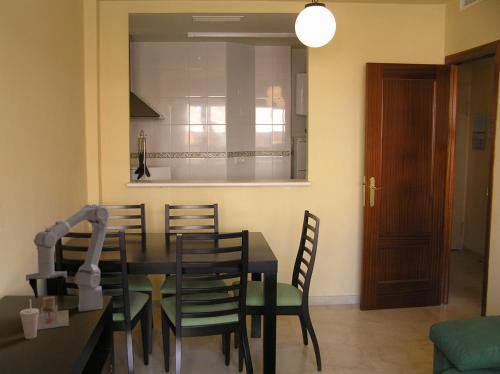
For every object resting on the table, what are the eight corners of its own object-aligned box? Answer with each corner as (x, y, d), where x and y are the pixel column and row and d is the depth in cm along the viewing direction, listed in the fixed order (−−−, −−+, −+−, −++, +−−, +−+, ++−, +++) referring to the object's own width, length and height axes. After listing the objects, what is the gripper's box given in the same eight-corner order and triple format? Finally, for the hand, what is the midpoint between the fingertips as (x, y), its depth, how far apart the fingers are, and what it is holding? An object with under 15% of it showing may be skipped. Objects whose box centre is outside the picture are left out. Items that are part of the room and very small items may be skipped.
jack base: (68, 313, 191) (68, 299, 190) (68, 325, 178) (68, 310, 177) (31, 318, 185) (30, 303, 185) (28, 331, 172) (28, 315, 172)
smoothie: (32, 341, 163) (30, 302, 162) (16, 339, 165) (15, 301, 163) (44, 334, 170) (42, 297, 168) (28, 332, 171) (27, 296, 170)
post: (55, 315, 184) (54, 296, 183) (55, 319, 180) (54, 299, 179) (43, 316, 182) (43, 297, 182) (43, 320, 179) (42, 300, 178)
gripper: (24, 266, 173) (25, 301, 174) (65, 263, 178) (67, 297, 179) (26, 262, 179) (27, 296, 180) (66, 259, 184) (67, 292, 185)
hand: (47, 296), depth 180 cm, fingers open, 7 cm apart
